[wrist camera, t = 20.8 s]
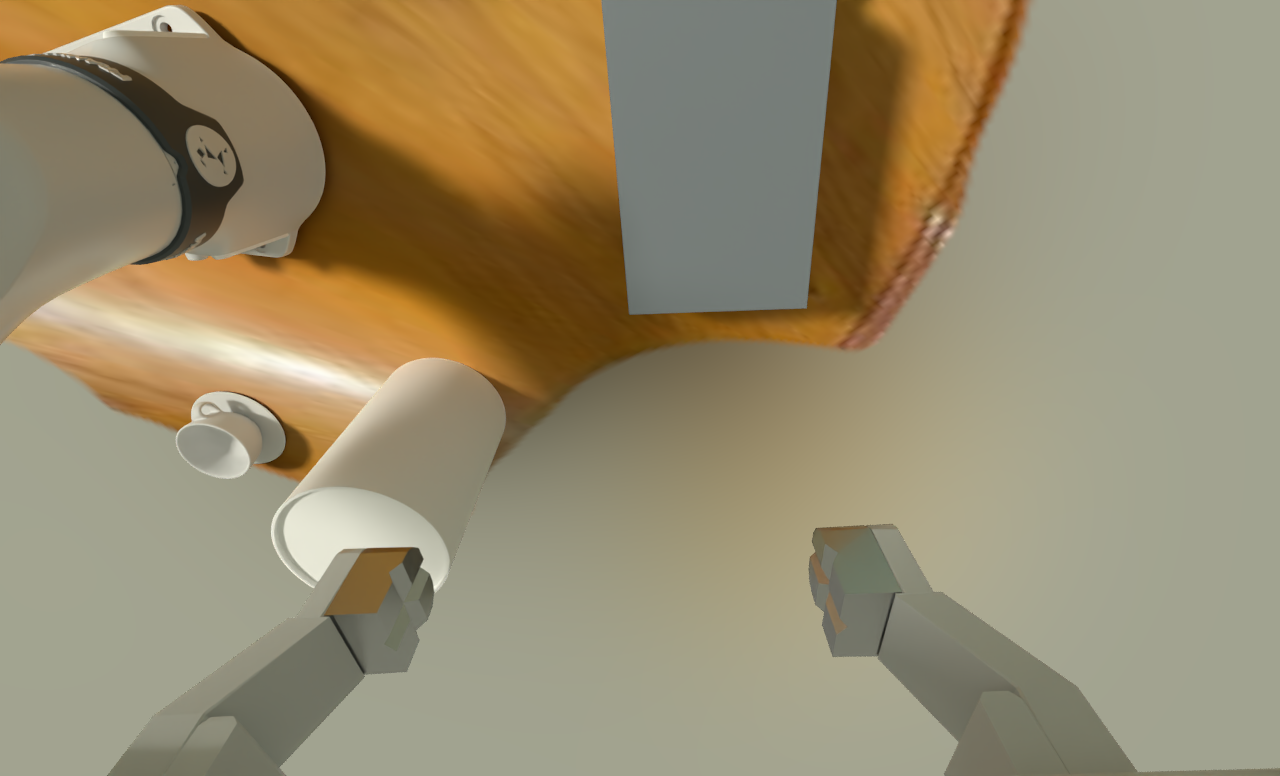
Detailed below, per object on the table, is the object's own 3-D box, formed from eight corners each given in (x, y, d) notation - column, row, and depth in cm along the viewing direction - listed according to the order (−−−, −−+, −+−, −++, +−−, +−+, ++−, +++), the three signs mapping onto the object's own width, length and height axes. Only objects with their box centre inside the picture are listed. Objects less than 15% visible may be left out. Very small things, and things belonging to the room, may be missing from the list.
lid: (630, 309, 43) (629, 314, 43) (601, -26, 32) (599, -29, 31) (804, 303, 42) (806, 308, 41) (837, -50, 31) (841, -54, 30)
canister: (368, 357, 55) (243, 485, 38) (497, 358, 55) (431, 487, 38) (398, 459, 62) (304, 607, 45) (512, 460, 62) (462, 608, 45)
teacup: (303, 456, 62) (279, 483, 58) (224, 465, 63) (195, 491, 59) (261, 384, 57) (231, 407, 53) (175, 394, 58) (140, 418, 54)
